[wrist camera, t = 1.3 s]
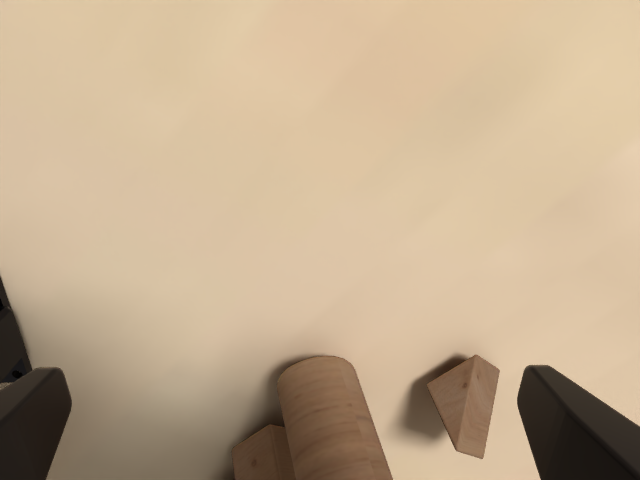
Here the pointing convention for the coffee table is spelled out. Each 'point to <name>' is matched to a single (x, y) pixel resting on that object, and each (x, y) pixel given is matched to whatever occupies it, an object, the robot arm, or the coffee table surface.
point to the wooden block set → (355, 422)
